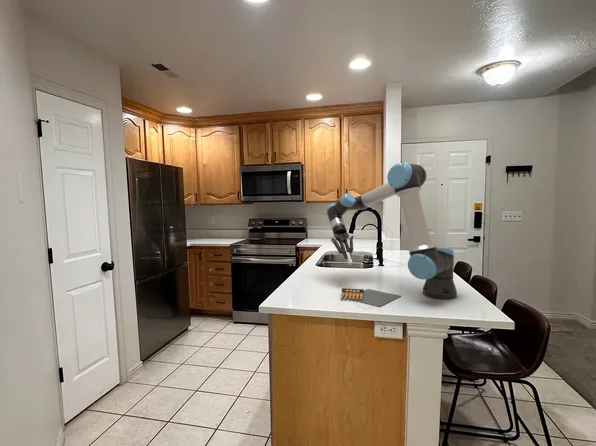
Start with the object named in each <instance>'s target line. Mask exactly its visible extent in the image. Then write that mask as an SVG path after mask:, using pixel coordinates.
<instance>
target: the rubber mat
mask: <svg viewBox="0 0 596 446" xmlns="http://www.w3.org/2000/svg"><path fill="white" fill-rule="evenodd" d="M348 297H349V296H348ZM348 297H347V299H346V300H349V301H353V302H357V303H360V304H365V305H369V306H373V307H377V308H381V307H383V306H386V305H387V304H390V303H391V302H393V301H395V300H397V299H399V298H401V297H402V295H399V294H396V293H390V292H385V291H379V290H376V289H370V288H367V289H364V295H363V298H362V300H360V296H359V299H358V300H357V299H356V297H355V299H354V300H353V299H352V297H351V299H349V298H348Z"/></svg>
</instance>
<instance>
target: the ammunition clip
mask: <svg viewBox="0 0 596 446" xmlns="http://www.w3.org/2000/svg"><path fill="white" fill-rule="evenodd" d="M364 290H365V289H364V288H344V287H343V288H342V287H341V292H340V293H341V294H340V299H345V300H349V299H351V297H352V299H353V300H354V299H355V297H356V299H357V300H358V299H359V296H360V300H362V298H363V295H364ZM347 297H348V298H349V299H347ZM353 300H352V301H353Z"/></svg>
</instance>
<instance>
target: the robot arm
mask: <svg viewBox="0 0 596 446" xmlns="http://www.w3.org/2000/svg"><path fill="white" fill-rule="evenodd" d="M386 178H387V179H386V180H387V182H386V183H384V184H382V185H381V186H378V187H375V188H374V189H371V190H369V191H367V192H365V193H363V194H361V195H358V196H354V195H352V194H351V193H349V192H347V193H345V194H344V195H342V196H340V199H338V200H337V202H335V203H330V204H328V205H327V206H326V214H327V218H328V220H329V224H330V226H331V230H332V233H333V237H331V238H330V242H331V243H333V245H334V247H335V248H336V250H337V251H338V253H339V254H340V255H342V256H343V257H344V260H346V262H347V265H348V266H352V264H353V260H352V259H353V255H352V253H353V252H354V241H353V240H354V235H350V234H349V233H348V231H347V228H346V224H345V222H344V219H343V215H344V214H346V212H348V211H364V210H366V209H368V207H369V206H372V205H374V204H377V203H379V202H381V201H384V200H386V199H388V198H390V197H393V196H397V197H399V201H400V205H401V208H402V212H403V216H404V221H405V224H406V228H407V229H406V230H407V232H408V233H407V234H408V237H409V242H410V246H411V247H410V249H409V251H408V253H409V255H410V256H409V259H408V260H407V268H408V271H409V272H410V274H411V275H412V276H413V277H414V278H416V279H419V280H423V281H424V280H425V282H424V284H423V286H422V294H423V295H424V296H425V297H429V298H433V299H438V300H451V299H452V300H453V299H456V298H457V297H458V290H457V288H456V284H455V282H454V262H455V259H454V258H455V254H454V250H453V248H447V247H439V246H438V247H437V246H436V245H434V244H433V243H432V241H431V236H430V233H429V229H428V226H427V220H426V217H425V212H424V209H423V205H422V201H421V196H420V190H421V189H422V186H423V185H424V184H425V182H426V181H427V178H428V177H427V172H426V169H425V168H424V167H423V166H421V165H420V164H416V163H415V164H413V163H408V162H398V163H395V164H393V165H392V166H391V167H390V168H389V170H388V172H387V176H386ZM348 240H349V242H348Z"/></svg>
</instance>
